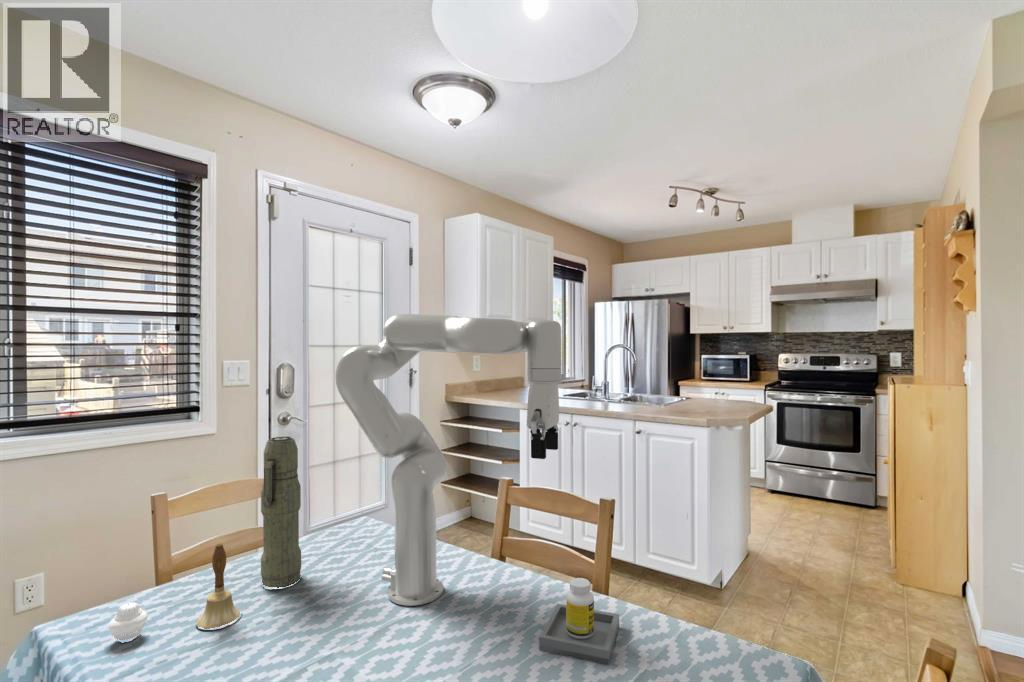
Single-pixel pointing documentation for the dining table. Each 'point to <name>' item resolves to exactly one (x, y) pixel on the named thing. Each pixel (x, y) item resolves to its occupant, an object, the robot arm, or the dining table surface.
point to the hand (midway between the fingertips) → (545, 453)
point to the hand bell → (218, 596)
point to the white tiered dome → (128, 621)
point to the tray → (586, 649)
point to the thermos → (280, 513)
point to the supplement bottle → (580, 609)
